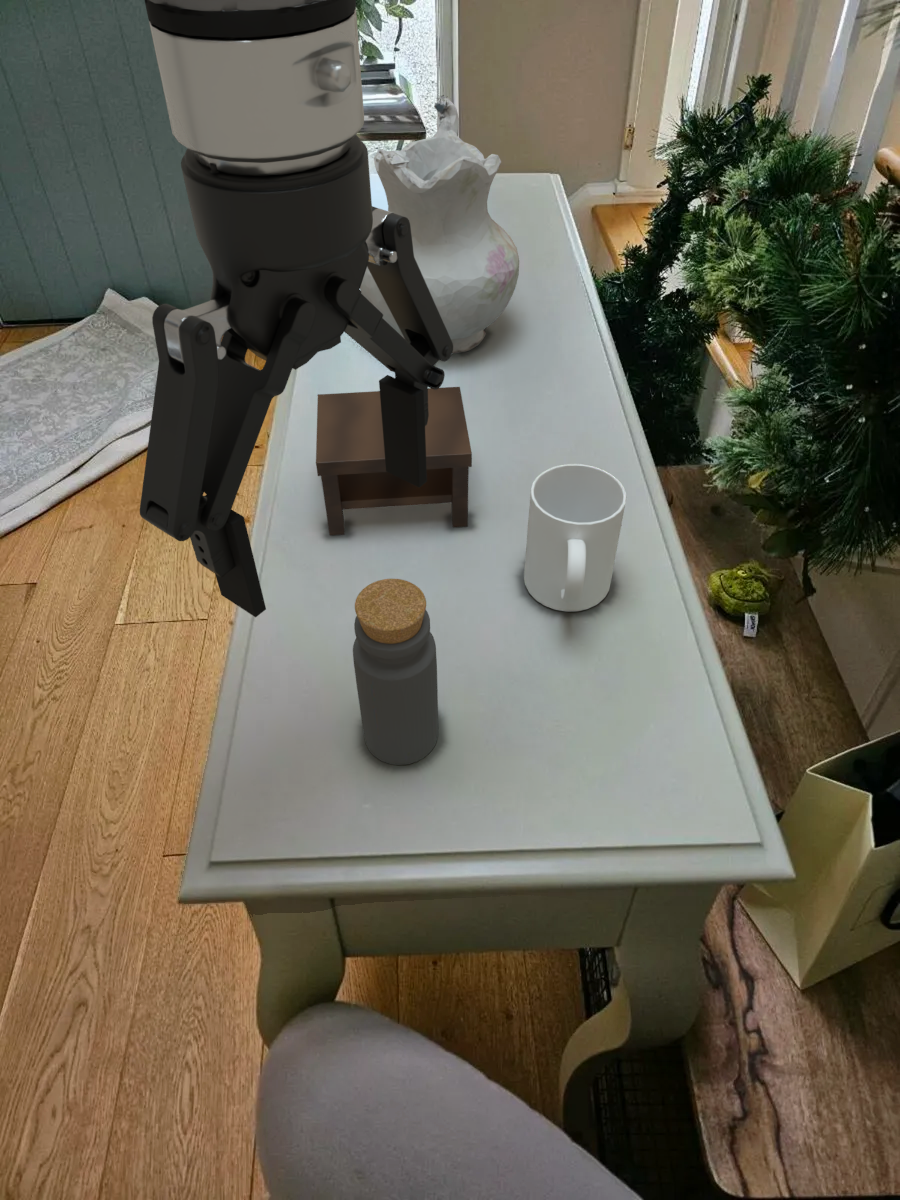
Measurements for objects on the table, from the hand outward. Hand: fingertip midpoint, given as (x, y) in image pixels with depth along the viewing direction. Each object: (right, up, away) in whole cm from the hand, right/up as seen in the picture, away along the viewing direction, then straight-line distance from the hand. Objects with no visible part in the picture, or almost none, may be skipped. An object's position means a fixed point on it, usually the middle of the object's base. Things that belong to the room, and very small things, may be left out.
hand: (331, 535), depth 50 cm
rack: (+1, +7, +37) cm, 38 cm away
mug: (+17, -4, +28) cm, 33 cm away
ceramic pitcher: (+5, +31, +61) cm, 68 cm away
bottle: (+3, -14, +18) cm, 23 cm away
